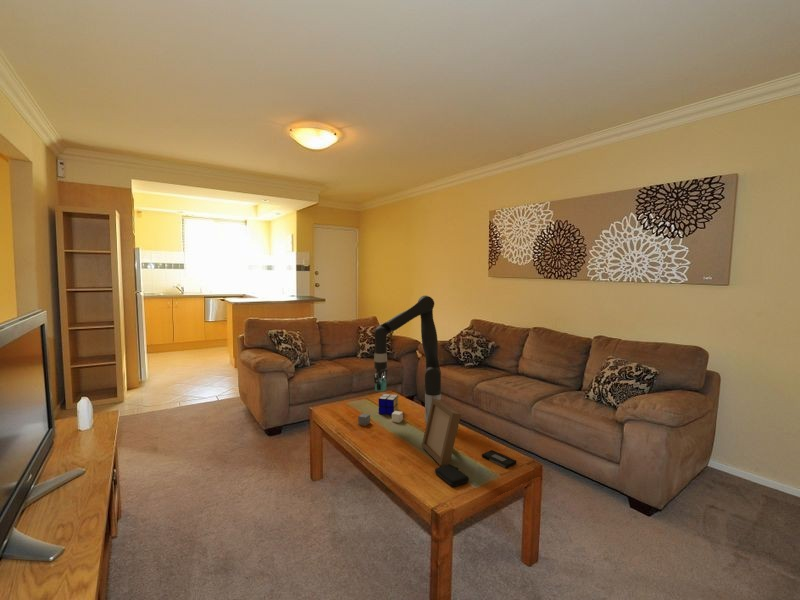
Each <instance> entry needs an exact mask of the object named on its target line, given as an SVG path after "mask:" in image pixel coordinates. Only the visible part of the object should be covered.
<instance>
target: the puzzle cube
mask: <svg viewBox="0 0 800 600" xmlns="http://www.w3.org/2000/svg"><path fill="white" fill-rule="evenodd" d="M394 411H399V395H398V394H389V393H383V394H382V395H381V396H380V397H379V398H378V414H379V415H387V416H392V413H393V412H394Z"/></svg>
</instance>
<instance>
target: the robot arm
mask: <svg viewBox="0 0 800 600" xmlns="http://www.w3.org/2000/svg"><path fill="white" fill-rule="evenodd" d="M434 307H435V301H434V299H433V298H432V297H431V296H428V295H422V296H420V297H419V298H418V301H417V303H415V304H414V305H412V306H411V307H409V308H408V309H406V310H405V311H402V312H399V313H398V314H397V315H395V316H393V317H392V318H390V319H389V320H387V321H385V322H383V323H382V324H380V325H378V326H377V327H376V328H375V330H374V356H373V360H374V365H373V367H374V369H375V370H376V372H375V373H374V374H373V381H374V384H375V383H376V384H377V390H381V380H384V381H386V380H387V379H388V372H389V371H388V354H387V351H388V350H387V337H388V336H387V335H389V334H390V333H391V332H394V331H396V330H398V329H400V328H401V327H403V326H404V325H406V324H407V323H410V322H411V321H412V320H414V319H415V318H417V317H419V316H420V336H421V337H420V338H421V345H422V349H423V353H424V357H425V374H424V422H425V423H426V424H427V420H428V416H429V412H430V407H431V403H432V399H438V400H441V398H442V397H441V396H442V395H441V393H442V390H441V389H442V388H441V387H442V386H441V385H442V384H441V383H442V381H441V380H442V372H441V368H440V363H439V357H438V355H439V343H438V334H437V333H438V332H437V328H436V324H435V320H434V314H433V313H434V310H433V309H434ZM441 401H442V400H441Z"/></svg>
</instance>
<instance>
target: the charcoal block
mask: <svg viewBox="0 0 800 600" xmlns="http://www.w3.org/2000/svg"><path fill="white" fill-rule="evenodd" d="M357 422H358V426H359V425H360V426H365V427H366V426H368V425H369V424H370V423H371V414H369V413H368V414H367V413H361V414H360V415H358V421H357Z"/></svg>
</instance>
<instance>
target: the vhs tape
mask: <svg viewBox="0 0 800 600" xmlns="http://www.w3.org/2000/svg"><path fill="white" fill-rule="evenodd" d="M481 457H482V458H483V459H484V460H486V461H488V462H489V461H490V462H491V463H494V464H496V465H498V466H500V467H502V468H504V469H505V470H507V469H509V468H511V467H513V466H515V465H516V464H517V460H515V459H514V458H511V457H509V456H507V455H505V454H502V453H500V452H498V451H496V450H493V449H490V450H489V451H485V452H484V453H482V454H481Z"/></svg>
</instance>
